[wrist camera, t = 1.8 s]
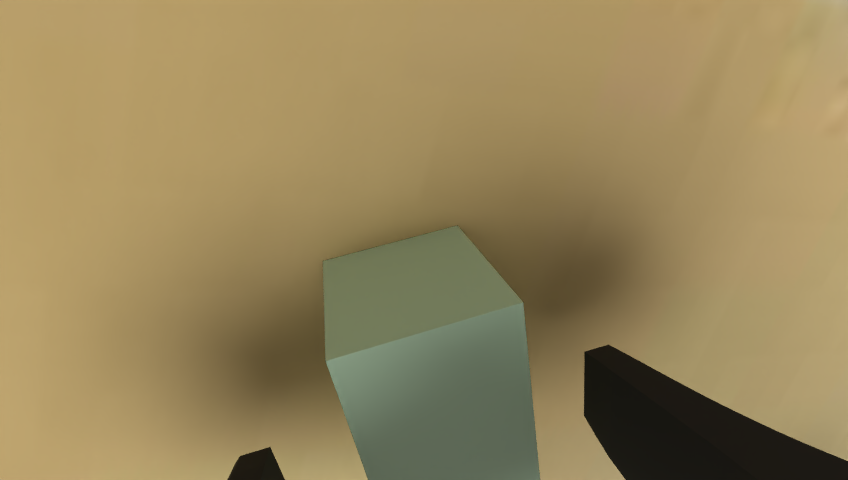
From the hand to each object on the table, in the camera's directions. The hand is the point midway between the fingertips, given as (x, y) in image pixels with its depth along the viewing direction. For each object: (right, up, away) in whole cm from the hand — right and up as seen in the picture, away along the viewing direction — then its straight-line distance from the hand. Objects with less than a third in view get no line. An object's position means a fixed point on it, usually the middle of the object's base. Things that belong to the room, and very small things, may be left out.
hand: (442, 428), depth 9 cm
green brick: (-1, +1, +3) cm, 3 cm away
